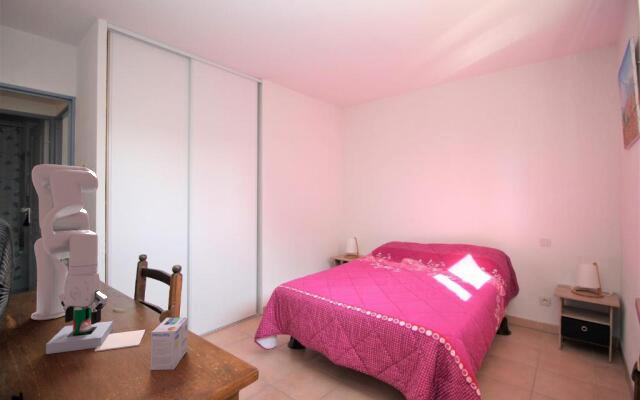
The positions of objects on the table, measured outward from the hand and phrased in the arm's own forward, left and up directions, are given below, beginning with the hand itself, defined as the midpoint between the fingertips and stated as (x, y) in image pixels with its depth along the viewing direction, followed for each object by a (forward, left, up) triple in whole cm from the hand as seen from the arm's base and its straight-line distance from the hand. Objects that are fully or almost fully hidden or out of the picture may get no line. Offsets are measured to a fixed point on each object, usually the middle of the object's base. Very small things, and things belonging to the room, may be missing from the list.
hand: (83, 321), depth 102 cm
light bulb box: (+23, +28, -7) cm, 36 cm away
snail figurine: (+9, +26, -7) cm, 28 cm away
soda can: (0, 0, -7) cm, 7 cm away
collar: (0, 0, -6) cm, 6 cm away
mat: (+4, +12, -6) cm, 14 cm away
